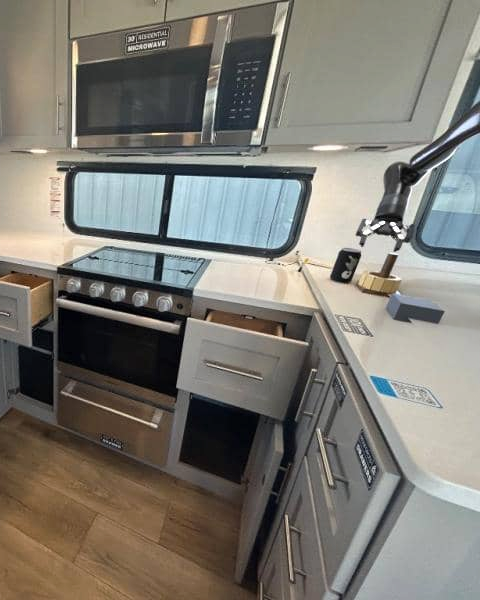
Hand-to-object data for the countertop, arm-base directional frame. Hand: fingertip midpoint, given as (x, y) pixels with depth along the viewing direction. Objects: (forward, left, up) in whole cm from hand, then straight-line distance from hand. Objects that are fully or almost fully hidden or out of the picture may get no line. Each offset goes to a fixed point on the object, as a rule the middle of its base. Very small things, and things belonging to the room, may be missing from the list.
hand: (378, 247), depth 110 cm
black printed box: (+6, -7, -15) cm, 17 cm away
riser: (-7, +22, -15) cm, 28 cm away
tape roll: (-4, 0, -13) cm, 14 cm away
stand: (-4, -1, -15) cm, 15 cm away
